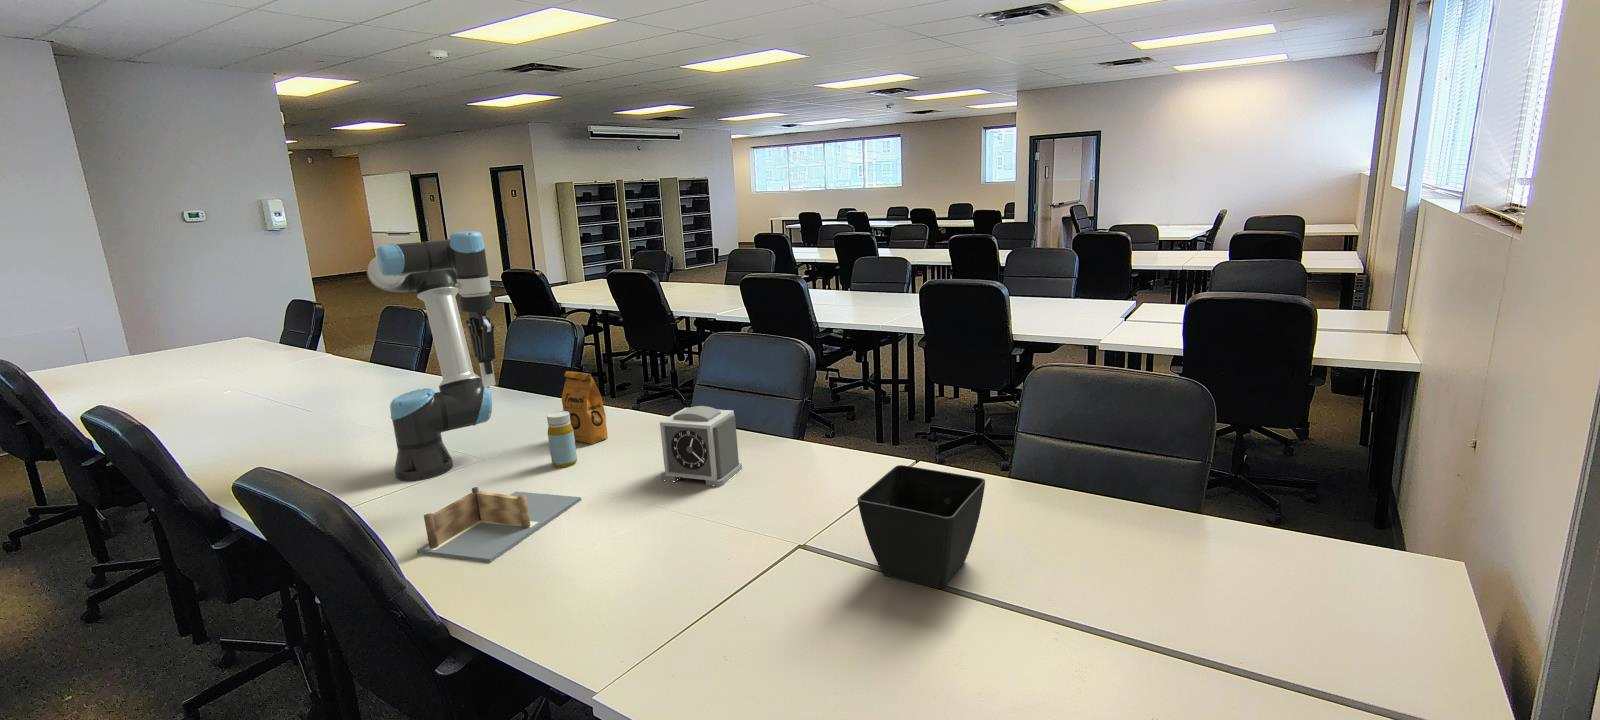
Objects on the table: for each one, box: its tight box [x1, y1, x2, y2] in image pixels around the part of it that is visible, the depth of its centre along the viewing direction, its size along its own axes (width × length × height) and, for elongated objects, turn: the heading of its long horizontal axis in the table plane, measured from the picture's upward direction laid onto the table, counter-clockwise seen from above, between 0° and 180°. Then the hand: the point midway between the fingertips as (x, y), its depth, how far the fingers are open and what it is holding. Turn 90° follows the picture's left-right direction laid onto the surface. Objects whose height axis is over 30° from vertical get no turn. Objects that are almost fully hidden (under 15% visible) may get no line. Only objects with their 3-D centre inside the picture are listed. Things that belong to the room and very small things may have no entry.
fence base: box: [423, 486, 481, 549], centre depth 173 cm, size 16×2×8 cm, turn 161°
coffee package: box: [560, 370, 609, 445], centre depth 236 cm, size 10×12×22 cm
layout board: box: [416, 491, 582, 564], centre depth 179 cm, size 33×20×1 cm, turn 161°
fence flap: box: [477, 490, 530, 528], centre depth 176 cm, size 14×2×7 cm, turn 66°
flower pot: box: [857, 464, 986, 590], centre depth 145 cm, size 19×19×17 cm
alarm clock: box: [659, 405, 743, 487], centre depth 201 cm, size 18×13×18 cm
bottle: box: [546, 410, 578, 468], centre depth 216 cm, size 7×7×15 cm
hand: (489, 385), depth 193 cm, fingers closed
